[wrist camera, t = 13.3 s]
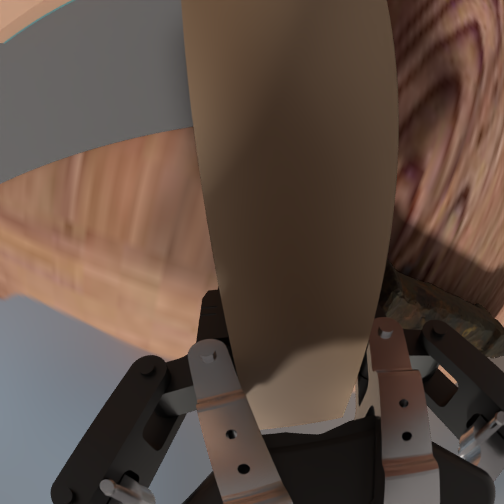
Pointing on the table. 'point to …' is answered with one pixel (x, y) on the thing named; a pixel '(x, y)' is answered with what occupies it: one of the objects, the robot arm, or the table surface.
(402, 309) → the hand tool
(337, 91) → the tan wooden bar
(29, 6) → the tile
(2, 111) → the rubber mat
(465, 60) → the table surface
